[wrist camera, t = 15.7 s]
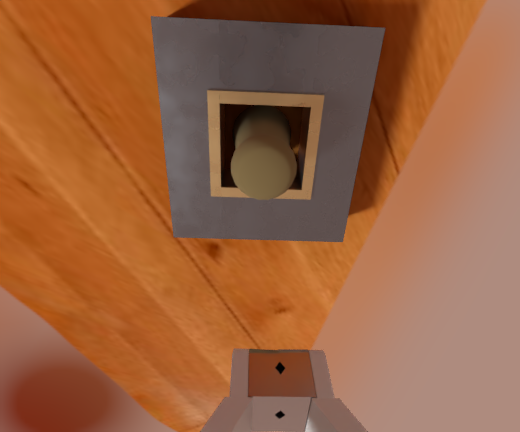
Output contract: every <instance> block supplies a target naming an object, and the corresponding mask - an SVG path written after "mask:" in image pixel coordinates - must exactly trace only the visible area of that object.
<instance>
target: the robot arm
mask: <svg viewBox="0 0 520 432" xmlns="http://www.w3.org/2000/svg"><path fill="white" fill-rule="evenodd" d="M267 431H283V432H284V431H285V432H368V431H367V430H366V429H365V428H364V427H363V426H362V424H361V423H360V422H359V421H358V420H357V419H356V417H355V416H354V415H353V414H352V413H351V412H350V410H349V409H348V408H347V407H346V406H345V405H344V404H343V402H342V401H341V400H340V399H339V398H334V393H333V388H332V384H331V379H330V375H329V370H328V366H327V361H326V356H325V353H324V351H323V350H260V349H233V354H232V369H231V383H230V397H225V398H224V399H223V400H222V402H221V403H220V405H219V406H218V407H217V409H216V410H215V412H214V413H213V414H212V416H211V417H210V419H209V420H208V421H207V423H206V424H205V425H204V427H203V428H202V430H201V431H200V432H267Z"/></svg>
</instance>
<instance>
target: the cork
mask: <svg viewBox="0 0 520 432" xmlns="http://www.w3.org/2000/svg"><path fill="white" fill-rule="evenodd" d="M290 138H291V129H290V125H289V121H288V120H287V118H286V117H285V115H284V114H283V113H282V112H281V111H279V110H278V109H277V108H275V107H272V106H269V105H255V106H252V107H249V108H247V109H246V110H245V111H243V112H242V113H241V114H240V115H239V117H238V118H237V119H236V121H235V124H234V128H233V141H234V145H235V149H236V150H235V151H234V154H233V158H232V161H231V174H232V177H233V180H234V182H235V184H236V186H237V187H238V188H239V189H240V191H241V192H243V193H244V194H246V195H247V196H249V197H251V198H254V199H258V200H269V199H273V198H276V197H278V196H280V195H282V194H283V193H285V192H286V191H287V190H288V189H289V187H290V186H291V185H292V183H293V181H294V178H295V176H296V169H297V163H296V159H295V155H294V152H293V151H292V149H291V148H290Z"/></svg>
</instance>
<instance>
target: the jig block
mask: <svg viewBox="0 0 520 432" xmlns="http://www.w3.org/2000/svg"><path fill="white" fill-rule="evenodd" d="M151 23H152V33H153V42H154V52H155V61H156V71H157V81H158V90H159V100H160V109H161V119H162V129H163V138H164V148H165V158H166V167H167V177H168V186H169V196H170V206H171V215H172V225H173V235H174V237H183V238H218V239H253V240H289V241H324V242H343V238H344V233H345V228H346V223H347V218H348V213H349V208H350V203H351V198H352V193H353V188H354V183H355V178H356V173H357V168H358V163H359V158H360V153H361V148H362V143H363V138H364V133H365V128H366V123H367V118H368V113H369V108H370V103H371V98H372V93H373V88H374V83H375V78H376V73H377V68H378V63H379V58H380V52H381V47H382V42H383V37H384V32H385V28H380V27H359V26H339V25H318V24H297V23H277V22H256V21H236V20H215V19H194V18H174V17H153V16H151ZM224 104H247V105H271V106H296V107H303V112H302V122H301V131H300V141H299V151H298V161H297V170H296V176H295V178H294V181H293V183H292V185H291V186H290V187H289V189H288V190H287V191H286V192H285V193H283V194H282V195H280V196H278V197H276V198H273V199H269V200H258V199H254V198H251V197H249V196H247V195H246V194H244V193H243V192H241V191H240V189H239V188H238V187H237V186H236V184H235V182H234V180H233V177H232V174H231V169H225V125H224Z"/></svg>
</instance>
